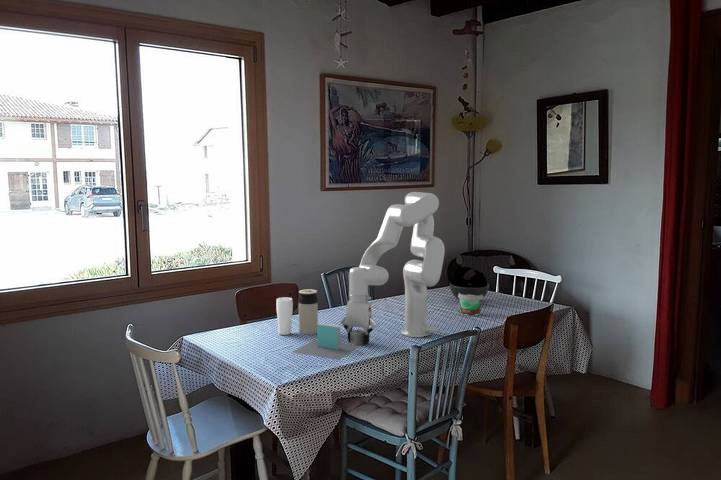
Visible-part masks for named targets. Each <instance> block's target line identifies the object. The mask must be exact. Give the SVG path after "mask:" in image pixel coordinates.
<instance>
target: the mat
mask: <svg viewBox="0 0 721 480" xmlns="http://www.w3.org/2000/svg"><path fill="white" fill-rule="evenodd" d="M359 347H360V345H354V344H350V343H349V344H348V343H341V342H340V349H338V350H336V349H329V348H323V347H317V339H313V340H312V341H311V340H310V341H309V342H308V343H305V344H304V345H302V346H300V347H299V348H297V349H295V350H293V351H292V353H295V354H300V355H307V356H312V357H313V356H314V357H319V358H326V359H332V360H339V361H340V360H341V359H343V358H344V357H345V356H347V355H349V354H350V353H351V352H354V350H356V349H358V348H359Z"/></svg>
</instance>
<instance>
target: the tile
mask: <svg viewBox="0 0 721 480" xmlns="http://www.w3.org/2000/svg"><path fill="white" fill-rule="evenodd" d="M316 335H317V339H316V340H317V347H323V348H329V349H336V350H338V349H340V343H341V325H336V324H329V323H321V322H319V323H318V324H317V333H316Z"/></svg>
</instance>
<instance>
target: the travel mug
mask: <svg viewBox="0 0 721 480" xmlns="http://www.w3.org/2000/svg"><path fill="white" fill-rule="evenodd" d="M317 292H318V290H316V289H311V288H310V289H309V288H308V289H301V290H299V291H298V293H299V295H300V296H299V297H298V333H299V334H303V335H313V334H317V324H319V323H318V319H319V318H318V313H319V311H318V305H319V304H318V303H319V301H318V296H317Z"/></svg>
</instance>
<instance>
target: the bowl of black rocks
mask: <svg viewBox="0 0 721 480" xmlns="http://www.w3.org/2000/svg"><path fill="white" fill-rule="evenodd" d="M472 269H474V268H473V267H470V266H463V267H459V268H457V269H456V270H455V271H454V275H453V278H452V280H451V281H450V282H449V288H450V291H451V293H452V295H453V296H454V298H456V300H458V301H459V302H460V300H459V298H458V294H459V292H460V294H464V295H467V294H472V295H476V296H479V295H482V294H483V298H485V297H486V295H487V294H488V292H489V288H490V284H489V283H488V282H487V278H486V276H485V274H484V273H483V272H481V271H479V270H477V269H474V270H473V272H474V273H475V274H474V275H472V276H470V277H469V279H465V278H464V277H465V274H467V273H468V271H470V270H472Z"/></svg>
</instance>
